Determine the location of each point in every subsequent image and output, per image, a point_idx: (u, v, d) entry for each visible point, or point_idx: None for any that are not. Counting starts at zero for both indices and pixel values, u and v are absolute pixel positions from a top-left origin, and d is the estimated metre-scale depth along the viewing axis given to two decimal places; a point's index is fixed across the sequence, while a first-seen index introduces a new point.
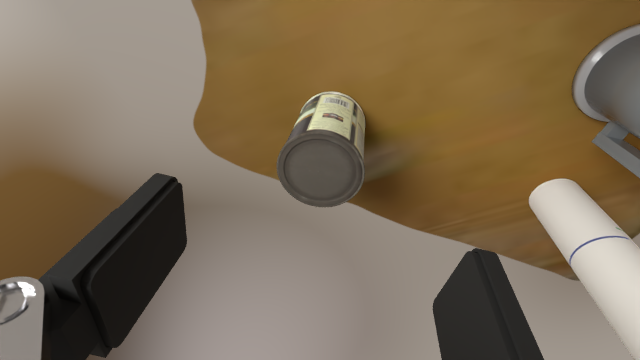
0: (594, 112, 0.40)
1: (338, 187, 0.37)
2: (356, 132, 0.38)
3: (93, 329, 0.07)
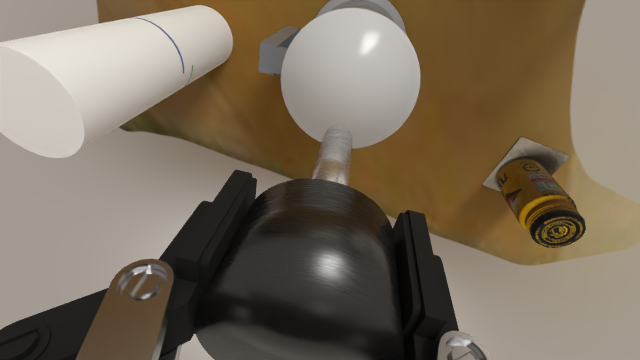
0: None
1: None
2: None
3: None
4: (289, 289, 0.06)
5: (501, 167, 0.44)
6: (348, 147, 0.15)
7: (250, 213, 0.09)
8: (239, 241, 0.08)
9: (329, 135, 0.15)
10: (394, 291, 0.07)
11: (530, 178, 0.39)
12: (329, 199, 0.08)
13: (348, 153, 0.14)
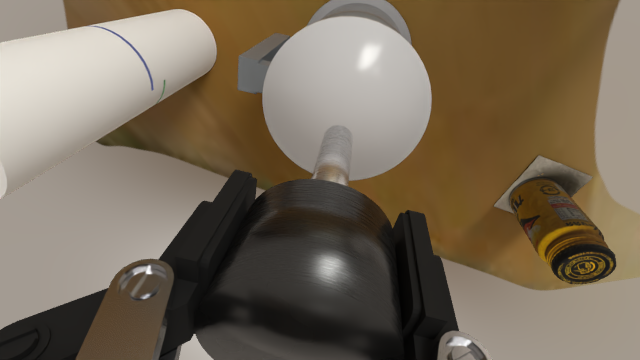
0: None
1: None
2: None
3: None
4: (289, 290, 0.06)
5: (515, 188, 0.39)
6: (348, 147, 0.15)
7: (250, 213, 0.09)
8: (239, 242, 0.08)
9: (329, 135, 0.15)
10: (394, 292, 0.07)
11: (549, 202, 0.35)
12: (329, 199, 0.08)
13: (348, 153, 0.14)
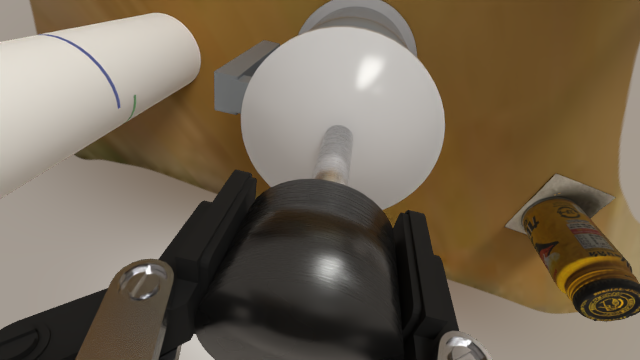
0: None
1: None
2: None
3: None
4: (288, 289, 0.06)
5: (529, 208, 0.36)
6: (348, 147, 0.15)
7: (250, 213, 0.09)
8: (239, 241, 0.08)
9: (330, 135, 0.15)
10: (394, 291, 0.07)
11: (569, 227, 0.31)
12: (329, 199, 0.08)
13: (348, 153, 0.14)
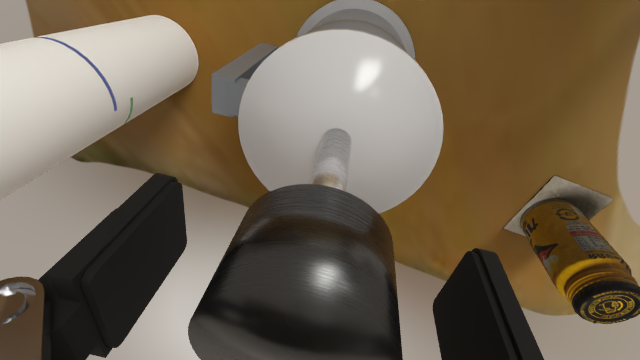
0: None
1: None
2: None
3: (93, 329, 0.07)
4: (284, 300, 0.06)
5: (528, 209, 0.36)
6: (346, 150, 0.15)
7: (246, 219, 0.09)
8: (235, 248, 0.08)
9: (327, 138, 0.15)
10: (392, 299, 0.07)
11: (568, 229, 0.31)
12: (326, 205, 0.08)
13: (346, 156, 0.14)
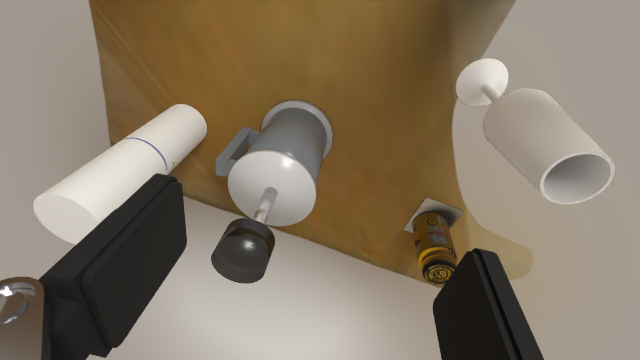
0: (266, 123, 0.49)
1: None
2: None
3: (93, 330, 0.07)
4: (233, 247, 0.27)
5: (415, 218, 0.57)
6: (272, 198, 0.36)
7: (227, 228, 0.30)
8: (223, 237, 0.28)
9: (265, 192, 0.36)
10: (263, 250, 0.28)
11: (428, 230, 0.52)
12: (249, 225, 0.29)
13: (271, 201, 0.35)
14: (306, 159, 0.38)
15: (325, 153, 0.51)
